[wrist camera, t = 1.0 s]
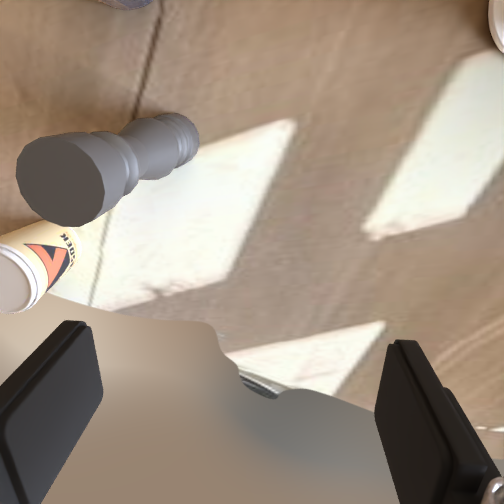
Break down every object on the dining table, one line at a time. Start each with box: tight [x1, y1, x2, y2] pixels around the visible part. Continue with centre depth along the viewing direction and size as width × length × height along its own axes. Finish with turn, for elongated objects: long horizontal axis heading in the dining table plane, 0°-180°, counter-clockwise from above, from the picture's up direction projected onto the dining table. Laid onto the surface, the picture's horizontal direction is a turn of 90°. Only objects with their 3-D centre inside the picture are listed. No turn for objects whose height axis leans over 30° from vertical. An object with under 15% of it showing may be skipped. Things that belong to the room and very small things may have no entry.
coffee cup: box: [0, 220, 81, 314], centre depth 47 cm, size 9×9×12 cm
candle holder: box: [16, 113, 199, 227], centre depth 33 cm, size 6×6×25 cm
